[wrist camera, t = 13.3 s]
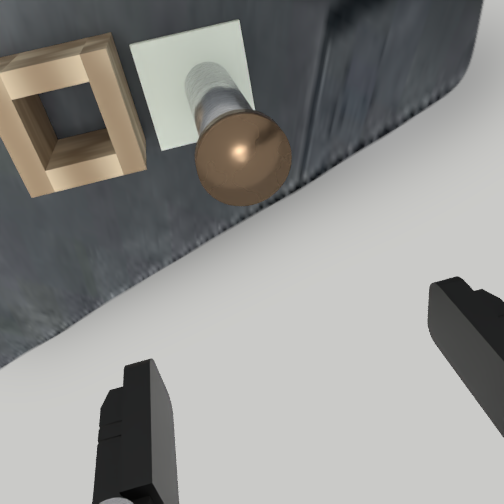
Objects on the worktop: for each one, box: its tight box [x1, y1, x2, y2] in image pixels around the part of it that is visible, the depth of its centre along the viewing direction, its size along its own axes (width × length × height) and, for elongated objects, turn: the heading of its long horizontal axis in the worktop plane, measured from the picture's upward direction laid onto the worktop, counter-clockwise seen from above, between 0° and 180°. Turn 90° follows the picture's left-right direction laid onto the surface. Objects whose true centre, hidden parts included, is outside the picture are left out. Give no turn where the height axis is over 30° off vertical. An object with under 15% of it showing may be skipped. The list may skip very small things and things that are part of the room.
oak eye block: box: [0, 32, 146, 198], centre depth 33 cm, size 8×8×6 cm
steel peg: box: [185, 62, 292, 206], centre depth 30 cm, size 5×5×15 cm
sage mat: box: [129, 19, 255, 151], centre depth 36 cm, size 8×8×1 cm
